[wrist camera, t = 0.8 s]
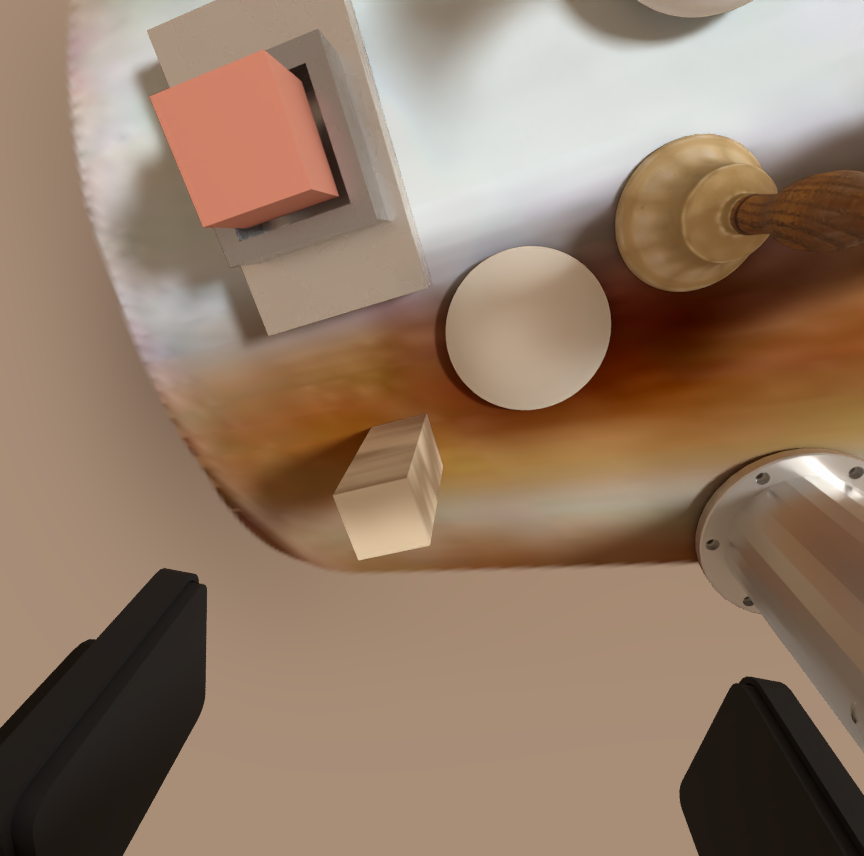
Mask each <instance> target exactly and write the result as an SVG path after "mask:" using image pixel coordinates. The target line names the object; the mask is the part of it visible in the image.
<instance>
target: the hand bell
mask: <svg viewBox="0 0 864 856" xmlns="http://www.w3.org/2000/svg"><path fill="white" fill-rule="evenodd" d="M615 234H616V241H617V246H618V249H619V251H620V254H621V256H622V258H623V260H624V262H625V264H626V265H627V267H628V268H629V269H630V271H631V272H632V273H633V274H634V275H635V276H636V277H638V278H639V279H640V280H641V281H643V282H644V283H646V284H648V285H650V286H652V287H655V288H658V289H661V290H665V291H670V292H688V291H693V290H698V289H701V288H704V287H707V286H710V285H712V284H714V283H716V282H718V281H720V280H722V279H724V278H725V277H727V276H728V275H729V274H731V273H732V272H733V271H734V270H736V269H737V268H738V267H739V266H740V265H741V264H742V263H743V262H744V261H745V260H746V258H747V257H748V256H749V255H750V254H751V253H752V252H754V251H755V250H756V249H757V248H759V247H760V246H761V245H762V244H763V243H764V241H765V240H766V239H767V238H768V236H769V235H771V236H772V237H773V238H774V239H776V240H777V241H778V242H780V243H782V244H784V245H786V246H788V247H791V248H794V249H798V250H804V251H813V252H833V251H839V250H844V249H848V248H851V247H854V246H857V245H860V244H862V243H864V172H860V171H854V170H838V171H830V172H824V173H819V174H815V175H811V176H808V177H806V178H803V179H800V180H798V181H796V182H794V183H792V184H790V185H789V186H787V187H785V188H784V189H782V190H781V191H780V192H779V193H778V191H777V188H776V186H775V184H774V182H773V180H772V179H771V178H770V176H769V175H768V174H767V173H765V172H764V171H763V169H762V167H761V165H760V164H759V162H758V161H757V159H756V158H755V157H754V155H753V154H752V153H751V152H750V151H749V150H748V149H747V148H745V147H744V146H743V145H741V144H740V143H738V142H736V141H734V140H732V139H730V138H727V137H723V136H719V135H714V134H695V135H691V136H685V137H682V138H679V139H676V140H674V141H672V142H669V143H667V144H665V145H664V146H662V147H661V148H659V149H658V150H656V151H655V152H653V153H652V154H650V155H649V156H648V157H647V158H646V159H645V160H644V161H643V162H642V163H641V164H640V165H639V166H638V168H637V169H636V170H635V171H634V173H633V174H632V176H631V177H630V179H629V180H628V182H627V184H626V186H625V188H624V189H623V192H622V194H621V197H620V200H619V203H618V206H617V211H616V219H615Z"/></svg>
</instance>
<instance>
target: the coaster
mask: <svg viewBox="0 0 864 856" xmlns="http://www.w3.org/2000/svg"><path fill="white" fill-rule="evenodd" d="M610 335H611V314H610V309H609V304H608V301H607V298H606V295H605V292H604V290H603V289H602V287H601V285H600V283H599V282H598V280H597V279H596V277H595V276H594V275H593V273H592V272H591V271H590V270H589V269H588V268H587V267H586V266H585V265H583V264H582V263H581V262H579V261H578V260H577V259H575V258H573V257H571V256H570V255H568V254H566V253H563V252H561V251H558V250H555V249H551V248H546V247H539V246H522V247H516V248H511V249H508V250H505V251H502V252H499V253H497V254H495V255H493V256H491V257H489V258H487V259H486V260H484V261H483V262H481V263H480V264H479V265H477V266H476V267H475V268H474V269H473V270H472V271H471V272H470V273H469V274H468V275H467V276H466V277H465V278H464V280H463V281H462V283H461V284H460V286H459V287H458V289H457V291H456V293H455V295H454V297H453V299H452V302H451V304H450V307H449V310H448V315H447V319H446V344H447V350H448V353H449V357H450V360H451V362H452V364H453V366H454V369H455V371H456V372H457V374H458V375H459V377H460V378H461V380H462V381H463V382H464V383H465V384H466V386H467V387H469V388H470V389H471V390H472V391H473V392H474V393H475V394H477V395H478V396H480V397H481V398H482V399H484V400H486V401H488V402H490V403H492V404H495V405H498V406H500V407H504V408H508V409H515V410H534V409H541V408H545V407H549V406H552V405H555V404H557V403H559V402H562V401H564V400H565V399H567V398H569V397H571V396H572V395H574V394H575V393H576V392H578V391H579V390H580V389H581V388H582V387H583V386H585V385H586V384H587V383H588V382H589V380H590V379H591V378H592V377H593V376H594V374H595V373H596V371H597V370H598V368H599V367H600V365H601V363H602V361H603V359H604V357H605V354H606V351H607V348H608V345H609V340H610Z"/></svg>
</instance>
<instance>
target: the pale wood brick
mask: <svg viewBox="0 0 864 856" xmlns="http://www.w3.org/2000/svg"><path fill="white" fill-rule="evenodd" d="M442 470H443V464H442V461H441V457H440V454H439V451H438V448H437V445H436V442H435V438H434V435H433V432H432V429H431V426H430V423H429V419H428V416H427V413H426V414H422V415H418V416H414V417H410V418H406V419H403V420H399V421H395V422H391V423H387V424H383V425H379V426H375V427H371V429H370V431H369V432H368V434H367V436H366V438H365V439H364V441H363V443H362V445H361V446H360V448H359V450H358V452H357V454H356V455H355V457H354V459H353V461H352V462H351V464H350V466H349V468H348V469H347V471H346V473H345V475H344V476H343V478H342V480H341V482H340V483H339V485H338V487H337V489H336V490H335V492H334V494H333V498H334V500H335V503H336V505H337V508H338V510H339V513H340V515H341V518H342V520H343V523H344V525H345V528H346V530H347V533H348V535H349V538H350V540H351V543H352V545H353V548H354V550H355V553H356V555H357V558H358V560H363V559H367V558H372V557H377V556H382V555H386V554H391V553H396V552H401V551H406V550H410V549H415V548H420V547H425V546H430V542H431V536H432V530H433V524H434V518H435V512H436V506H437V500H438V494H439V488H440V482H441V476H442Z"/></svg>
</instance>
